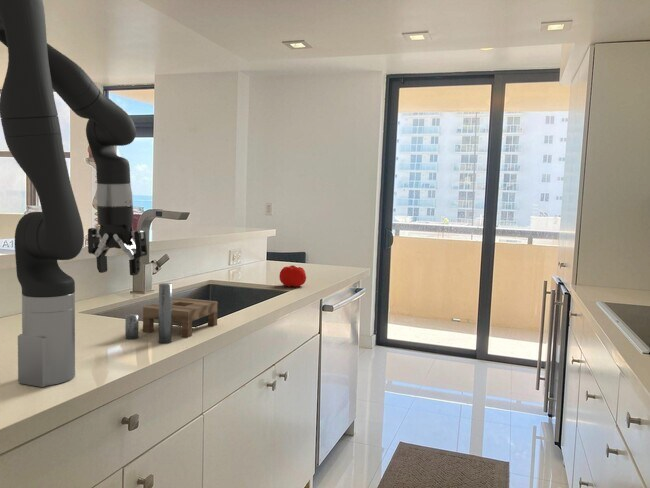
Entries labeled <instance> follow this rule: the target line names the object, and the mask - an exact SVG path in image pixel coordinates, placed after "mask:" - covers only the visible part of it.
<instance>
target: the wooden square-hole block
mask: <svg viewBox="0 0 650 488" xmlns="http://www.w3.org/2000/svg"><path fill="white" fill-rule="evenodd" d="M218 302H219V301H216V300H205V299H196V298H195V299H194V298H188V297H187V298H185V297H172V323H173V322H175V323H180V324H181V325H180V327H181V330H180V331H181V334H180V336H181V338H190V337H192V336H193V322H194V321H196V320H199V319H201V318H204V317H207V326H208V325H209V327H215V326H217V325H218V304H219V303H218ZM155 320H158V321H159V302H155V303H151V304H148V305H145V306H143V307H142V333H148V334H150V333H153V332H154V331H155V328H154V326H155V325H154V324H155Z"/></svg>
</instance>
